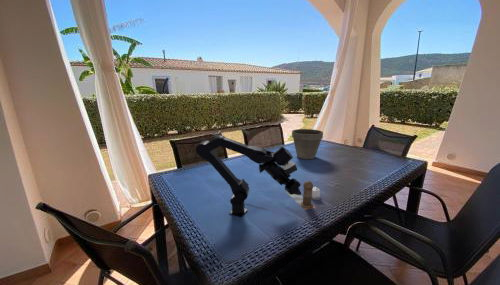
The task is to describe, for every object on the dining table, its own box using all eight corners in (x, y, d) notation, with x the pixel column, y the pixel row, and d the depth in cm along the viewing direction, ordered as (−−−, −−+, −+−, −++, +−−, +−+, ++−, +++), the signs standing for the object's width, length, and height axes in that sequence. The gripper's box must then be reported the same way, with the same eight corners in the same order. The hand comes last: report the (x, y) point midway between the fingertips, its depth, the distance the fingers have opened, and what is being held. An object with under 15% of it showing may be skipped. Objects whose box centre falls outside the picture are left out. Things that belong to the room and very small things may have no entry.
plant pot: (298, 150, 202) (299, 127, 196) (325, 155, 188) (327, 130, 182) (285, 157, 182) (286, 132, 177) (315, 163, 168) (317, 135, 163)
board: (318, 208, 107) (319, 207, 106) (302, 212, 104) (302, 210, 104) (297, 190, 125) (297, 189, 125) (283, 193, 122) (283, 192, 122)
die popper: (323, 199, 115) (324, 190, 114) (311, 202, 113) (312, 192, 111) (315, 193, 121) (316, 184, 120) (304, 195, 119) (305, 186, 118)
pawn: (311, 209, 105) (313, 184, 102) (299, 206, 107) (301, 182, 104) (313, 204, 110) (315, 180, 107) (302, 201, 112) (303, 178, 109)
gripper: (297, 163, 90) (318, 185, 96) (277, 151, 107) (296, 170, 113) (279, 184, 89) (301, 204, 95) (262, 168, 106) (282, 186, 112)
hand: (295, 189), depth 104 cm, fingers open, 9 cm apart
